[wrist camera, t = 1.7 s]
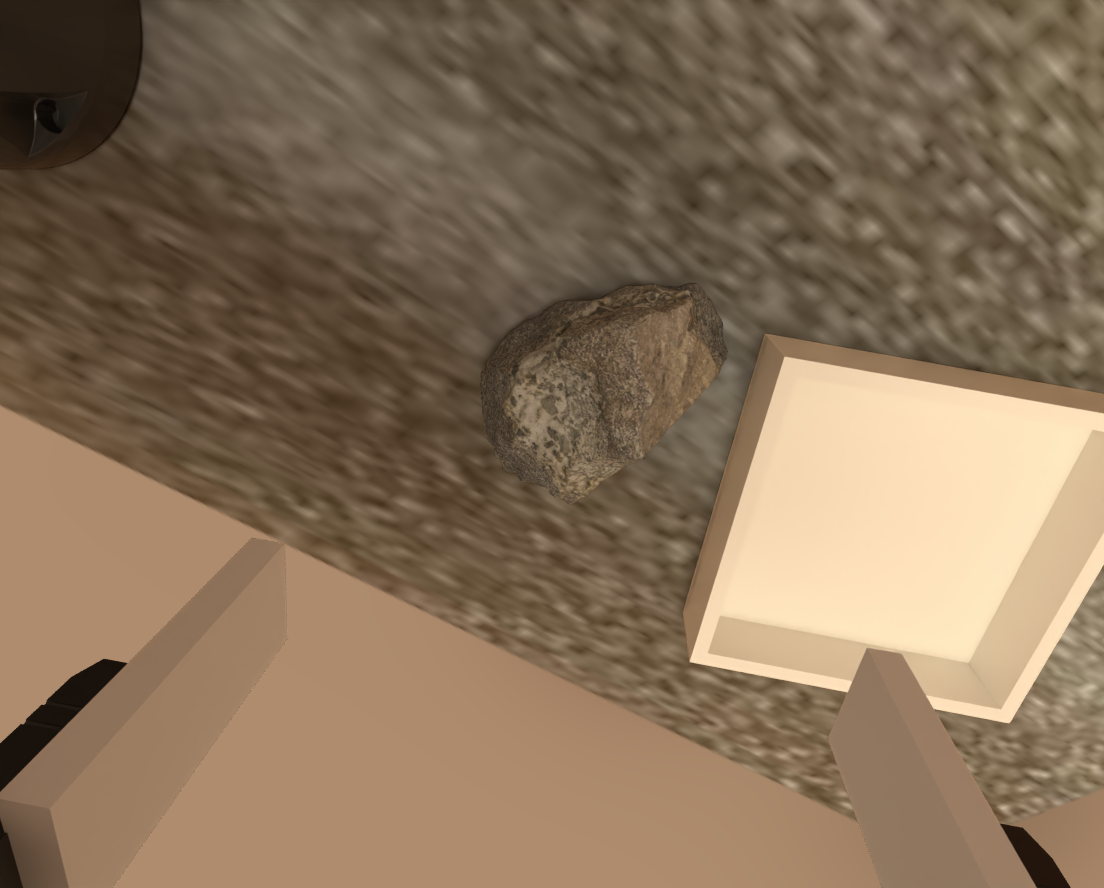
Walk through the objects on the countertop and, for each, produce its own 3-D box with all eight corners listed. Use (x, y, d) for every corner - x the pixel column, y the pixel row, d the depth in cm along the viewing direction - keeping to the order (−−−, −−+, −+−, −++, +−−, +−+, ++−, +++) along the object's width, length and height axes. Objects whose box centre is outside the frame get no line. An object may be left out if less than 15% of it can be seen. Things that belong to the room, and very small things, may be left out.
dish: (682, 612, 40) (689, 661, 36) (764, 333, 33) (784, 356, 29) (969, 666, 40) (1009, 723, 36) (1115, 395, 33) (1184, 428, 29)
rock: (559, 496, 38) (546, 556, 32) (450, 390, 36) (415, 432, 30) (746, 339, 33) (773, 374, 27) (632, 210, 32) (633, 217, 26)
